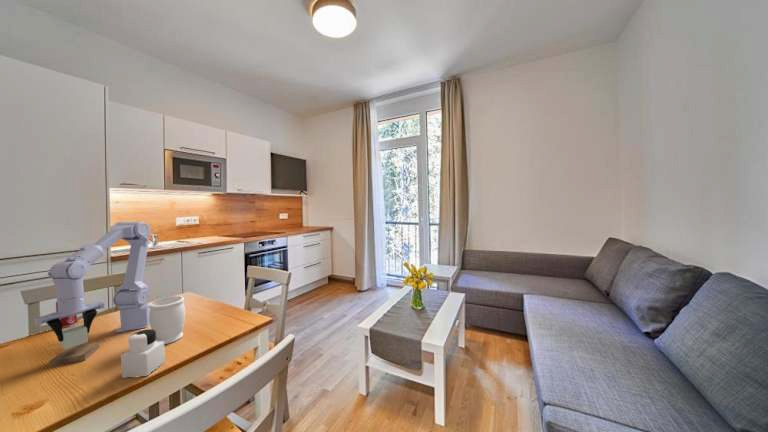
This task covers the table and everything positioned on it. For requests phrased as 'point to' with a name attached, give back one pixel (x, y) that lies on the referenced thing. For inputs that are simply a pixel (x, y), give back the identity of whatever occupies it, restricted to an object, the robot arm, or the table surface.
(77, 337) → the painted cube
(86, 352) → the walnut plinth
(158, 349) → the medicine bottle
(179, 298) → the jar
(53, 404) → the table surface
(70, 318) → the soda can
